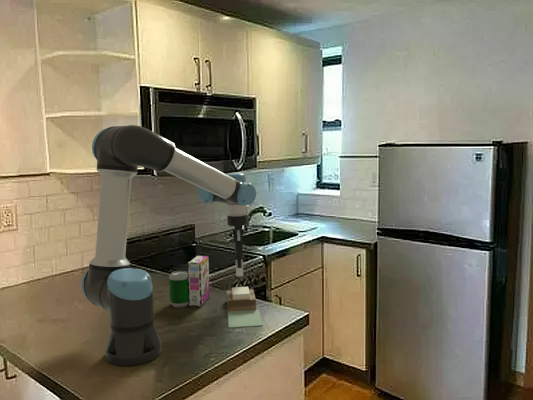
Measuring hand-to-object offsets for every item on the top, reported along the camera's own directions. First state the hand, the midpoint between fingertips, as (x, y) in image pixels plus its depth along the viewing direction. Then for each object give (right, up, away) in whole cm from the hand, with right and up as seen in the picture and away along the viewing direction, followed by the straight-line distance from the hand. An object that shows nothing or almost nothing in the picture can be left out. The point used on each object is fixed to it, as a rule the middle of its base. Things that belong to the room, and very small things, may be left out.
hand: (239, 275), depth 175 cm
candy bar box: (-15, -10, -3) cm, 18 cm away
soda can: (-21, -10, -5) cm, 24 cm away
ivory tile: (+1, -6, -10) cm, 11 cm away
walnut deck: (+1, -10, -8) cm, 13 cm away
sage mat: (+3, -11, -21) cm, 24 cm away
